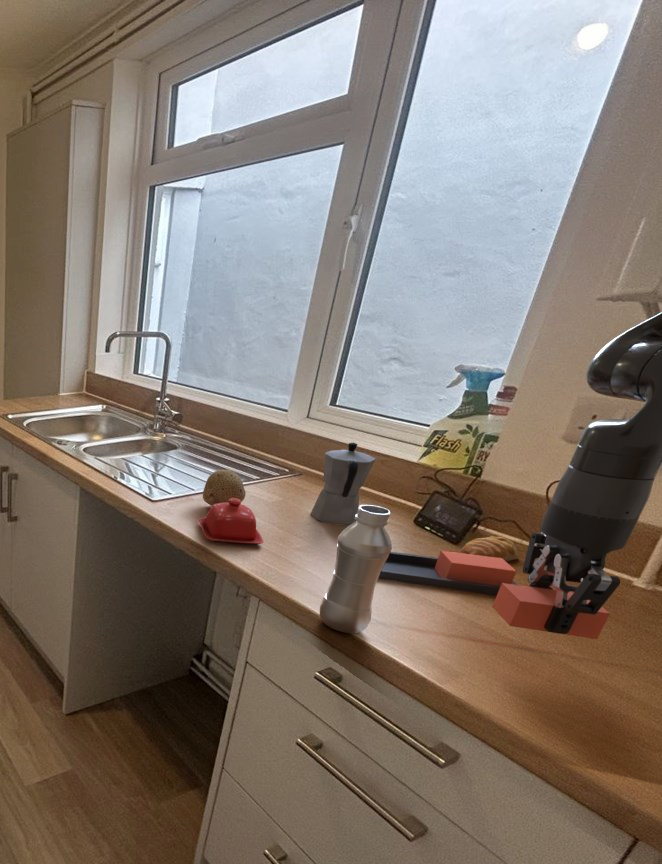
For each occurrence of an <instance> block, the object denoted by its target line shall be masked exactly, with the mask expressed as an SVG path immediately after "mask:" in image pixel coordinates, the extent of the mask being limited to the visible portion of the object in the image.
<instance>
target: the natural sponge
mask: <svg viewBox="0 0 662 864" xmlns="http://www.w3.org/2000/svg"><path fill="white" fill-rule="evenodd" d="M245 489H246V488H245V486H244V482H243V480H242V478H241V477H240V475H239V474H238V473H237V472H235V471H234V470H231V469H218V470H215V471H213V472H212V473H211V474H210V475H209V476H208V477H207V480H206V482H205V484H204V487H203V490H202V500H203V501H204V502H205V503H206V504H208V505H209V506H210V507H211V506H212V505H214V504H217V503H229V502H228V500H229V499H231V498H237V499H239V500H240V501H241V503H242V502H243V501H244V500H245V497H246V493H247V492H246V490H245Z"/></svg>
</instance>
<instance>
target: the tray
mask: <svg viewBox="0 0 662 864" xmlns="http://www.w3.org/2000/svg"><path fill="white" fill-rule="evenodd" d="M437 560H438V557H435V556H426V555H420V554H412V553H404V552H398V551H397V552H396V551H391V552H390V554H389V556H388V558H387V560H386V562H385V564H384V566H383V568H382V570H381V572H380V575H379V577H378V580H385V581H386V580H387V581H391V582H400V583H406V584H413V585H418V586H419V585H421V586H427V587H433V588H440V589H441V588H442V589H447V590H453V591H460V592H461V591H462V592H467V593H474V594H482V595H488V596H495V597H496V596H497V594H498V592H499V589H500V587H501V586H495V585H488V584H481V583H474V582H467V581H459V580H452V579H445V578H441V577H440V576H439V575H438V573H437V572H436V571H435V570H434V568H435V566H436V563H437ZM511 584H514V585H518V584H517V583H516V582H515V581H514V580H513V581H512V583H511Z"/></svg>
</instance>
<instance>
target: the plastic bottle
mask: <svg viewBox="0 0 662 864" xmlns="http://www.w3.org/2000/svg"><path fill="white" fill-rule="evenodd" d="M390 515H391V511H390V510H389V509H388V508H385V507H383V506H379V505H373V504H361V505H359V508H358V512H357V514H356V516H355V519H356V520H357V521H356V522H355V523H353V524H351V525H349V526H347V527H346V528H344V529H343V530H342V531H341V532H340V533H339V535H338V537H337V541H336V542H337V544H336V556H335V564H334V570H333V574H332V578H331V580H330V583H329V586H328V588H327V591H326V593H325V595H324V596H323V597H322V600H321V602H320V604H319V617H320V619H321V621H322V622H323V623H324V625H326V626H327V627H329V628H330V629H333V630H335V631H338V632H340V633H346V634H358V633H361V632H362V631H364V630H366V629H367V628H368V625H369V624H370V622H371V620H372V613H373V605H372V604H373V599H374V594H375V588H376V586H377V583H378V582H377V581H378V580H379V579H378V577H379V575H380V572H381V570H382V568H383V566H384V564H385V562H386V560H387V558H388V556H389V554H390V552H392V549H393V546H392V540H391V538H390V535H389V533H388V532H387V530H386V528H385V526H388V524H389V518H390Z"/></svg>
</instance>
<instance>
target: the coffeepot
mask: <svg viewBox="0 0 662 864" xmlns="http://www.w3.org/2000/svg"><path fill="white" fill-rule="evenodd" d="M357 447H358V443H356V442H349V443H348V449H337V450H336V449H335V450H334V449H331V450H329V451H327V452H325V453H324V464H323V476H322V477H323V478H322V481H323V482H324V484H323V485H324V486H323V488H322V489H321V490H320V492H319V494H318V496H317V499H316V501H315V504H314V505H313V508H312V509H311V512H310V515H311V516H312V517H313V518H314V519H315V520H317V521H318V522H322V523H325V524H330V525H339V526H347V527H348V526H350V525H351V524H353V523H355V522H356V521H357V520H356V519H355V516H356V514H357V512H358V509H359V507H360V495H359V492H360V489H361V488H362V487H363V486H364V484H365V481H366V480H367V478H368V476H369V474H370V471H371V469H372V468H373V465H374V463H375V461H376V458H375V457H373V456H371V455H369V454H368V453H364V452H360V451H357V450H356V449H357Z"/></svg>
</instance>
